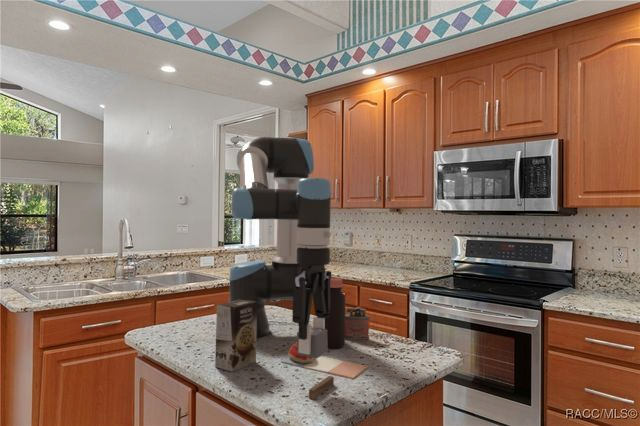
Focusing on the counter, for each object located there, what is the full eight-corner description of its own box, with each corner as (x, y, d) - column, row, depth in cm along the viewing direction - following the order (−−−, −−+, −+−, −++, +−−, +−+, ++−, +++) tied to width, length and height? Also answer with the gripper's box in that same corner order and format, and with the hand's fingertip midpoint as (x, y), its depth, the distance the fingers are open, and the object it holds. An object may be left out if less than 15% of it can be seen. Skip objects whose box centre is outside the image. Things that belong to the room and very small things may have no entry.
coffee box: (232, 372, 102) (234, 307, 102) (214, 367, 106) (215, 303, 106) (257, 362, 110) (258, 301, 110) (239, 357, 114) (240, 298, 114)
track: (281, 362, 110) (281, 361, 110) (299, 352, 118) (299, 351, 118) (353, 378, 100) (353, 377, 100) (368, 367, 107) (368, 366, 107)
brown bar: (308, 397, 89) (309, 389, 89) (329, 383, 97) (329, 375, 97) (313, 399, 88) (313, 390, 88) (333, 384, 96) (333, 376, 96)
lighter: (368, 338, 133) (369, 307, 133) (369, 341, 130) (369, 309, 130) (343, 337, 134) (344, 306, 134) (343, 340, 131) (343, 308, 131)
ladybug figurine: (305, 351, 118) (305, 339, 118) (321, 362, 109) (321, 349, 109) (283, 355, 115) (283, 342, 115) (298, 366, 106) (298, 352, 106)
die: (297, 355, 93) (296, 332, 93) (308, 348, 97) (308, 326, 97) (316, 358, 90) (316, 335, 90) (327, 351, 95) (327, 329, 95)
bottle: (322, 342, 128) (323, 277, 129) (344, 342, 128) (345, 277, 128) (321, 349, 122) (322, 280, 122) (344, 349, 121) (345, 281, 122)
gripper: (306, 250, 84) (304, 364, 84) (346, 245, 100) (344, 341, 100) (275, 248, 88) (274, 358, 88) (319, 243, 104) (317, 336, 104)
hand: (311, 349), depth 94 cm, fingers open, 5 cm apart
